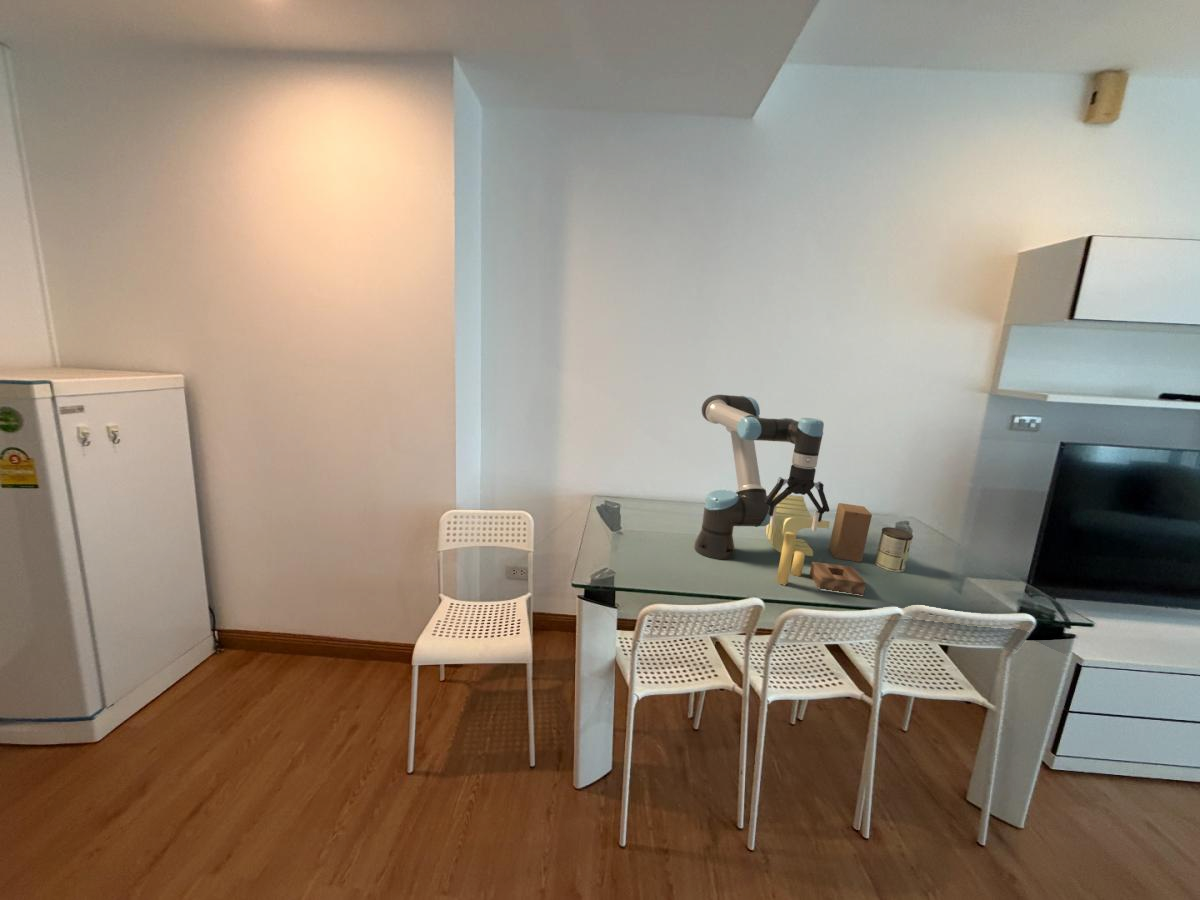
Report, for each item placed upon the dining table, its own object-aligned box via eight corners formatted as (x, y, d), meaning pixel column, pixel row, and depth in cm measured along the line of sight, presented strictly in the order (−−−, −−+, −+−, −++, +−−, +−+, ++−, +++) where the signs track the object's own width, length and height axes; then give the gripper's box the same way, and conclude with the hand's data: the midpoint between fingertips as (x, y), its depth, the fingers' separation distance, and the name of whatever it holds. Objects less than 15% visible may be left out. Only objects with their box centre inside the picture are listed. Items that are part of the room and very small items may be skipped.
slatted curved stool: (758, 531, 218) (765, 492, 214) (795, 535, 217) (803, 496, 213) (778, 560, 188) (786, 516, 184) (820, 565, 188) (829, 521, 184)
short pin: (792, 575, 177) (796, 554, 175) (789, 570, 181) (793, 550, 179) (802, 576, 177) (806, 555, 175) (799, 572, 180) (803, 551, 178)
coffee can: (872, 558, 199) (879, 525, 196) (901, 563, 196) (909, 530, 193) (877, 568, 190) (885, 533, 187) (907, 574, 187) (916, 539, 183)
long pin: (777, 584, 169) (786, 535, 165) (775, 579, 172) (784, 531, 168) (788, 586, 169) (797, 536, 165) (785, 581, 172) (795, 532, 168)
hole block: (819, 590, 167) (822, 577, 166) (809, 574, 179) (812, 561, 178) (863, 596, 166) (866, 582, 165) (849, 579, 178) (852, 567, 177)
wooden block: (861, 562, 194) (872, 514, 189) (834, 558, 195) (844, 510, 191) (854, 552, 203) (864, 506, 199) (828, 548, 205) (837, 502, 201)
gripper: (766, 464, 159) (756, 526, 163) (847, 473, 156) (835, 536, 161) (762, 459, 166) (752, 519, 171) (839, 467, 164) (827, 528, 168)
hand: (792, 527), depth 166 cm, fingers open, 13 cm apart
